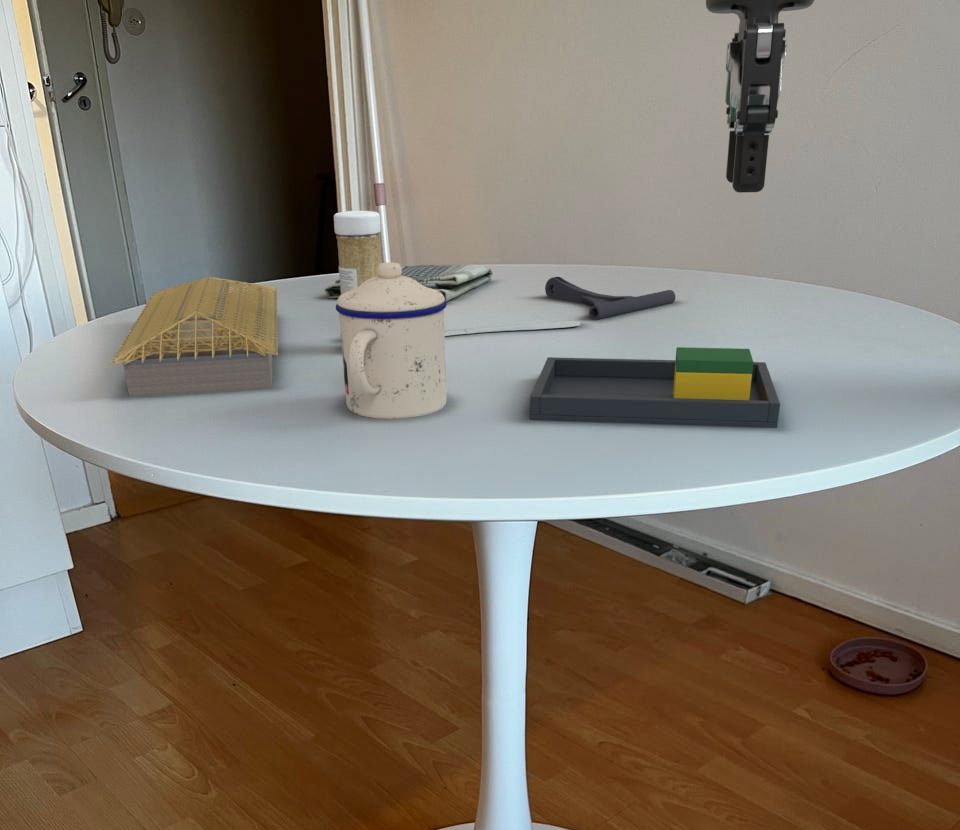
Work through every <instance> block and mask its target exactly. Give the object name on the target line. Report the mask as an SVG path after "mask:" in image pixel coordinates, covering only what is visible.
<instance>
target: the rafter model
mask: <svg viewBox="0 0 960 830" xmlns="http://www.w3.org/2000/svg"><path fill="white" fill-rule="evenodd" d="M278 326H279V325H278V287H277V286H272V285H271V286H270V285H265V284H258V283H252V282H246V281H239V280H232V279H226V278H222V277H221V278H220V277H215V276H206V277H202V278H198V279H196V280H193V281H189V282H185V283H182V284H179V285H175V286H172V287H168V288H165V289H161V290H158V291H155V292H152V294H151V296H149V299H147V302H146V304H145V306H144V308H142V310H141V312H140V313H139V315H138V317H137V318H136V320H135V322H134V323H133V325H132V326H131V328H130V329H129V331H128V334H126V337H125V338H124V340H122V343H121V346H119V349H118V350H117V352H116V353H115V354H114V358H112V359H111V360H112V361H110V365H112V366H113V365H116V364H121V363H122V365H123V371H124V376H125V382H126V387H127V392H128V397H129V398H136V397H137V398H139V397H156V396H170V395H172V396H173V395H185V394H186V395H188V394H205V393H219V392H237V391H238V392H239V391H253V390H254V391H255V390H270V389H273V356H279V350H278V349H279V343H278V342H279V340H278V339H279V336H278V335H279V334H278V330H279V329H278Z"/></svg>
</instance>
